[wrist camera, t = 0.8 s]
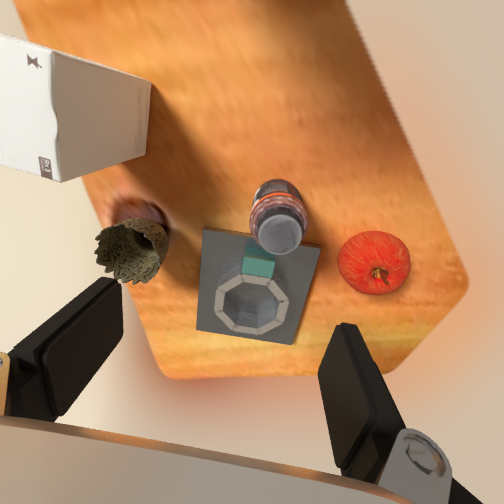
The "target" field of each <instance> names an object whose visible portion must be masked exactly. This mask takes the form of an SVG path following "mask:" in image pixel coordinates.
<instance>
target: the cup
mask: <svg viewBox="0 0 504 504" xmlns="http://www.w3.org/2000/svg"><path fill="white" fill-rule="evenodd" d="M95 240H97V241H98V240H100V241H99V243H98V245H99V247H98V248H97V250H96V251H95V252H94V253H95V254H97V255H98V256H97V259H96V263H97V264H99V265H103V266H106V268H105V273H110V272H112V271H114V279H116V280H118V279H121V281H122V283H127V282H129V281H131V280H133V282H132V284H133V285H135V284H137V283H138V282H139V281H141V282H142V283H147V282H148V281H149V280H151V278H152V277H155V276H156V274H157V272H158V270H159V268H160V266H161V264H162V262H163V260H164V258H165V256H166V254H167V250H168V237H167V234H166V232H165V229H164V227H163V226H162V225H161V224H160V223H158V222H156V221H153V220H151V219H148V218H132V219H128V220H125V221H123V222H120V223H118V224H115V225H113V226H111V227H107V228H105V229H103V230H102V231H101V232H100V235H98V236H97V237H96V238H95Z"/></svg>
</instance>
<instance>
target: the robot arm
mask: <svg viewBox="0 0 504 504" xmlns="http://www.w3.org/2000/svg"><path fill="white" fill-rule="evenodd" d="M122 336H123V310H122V287H121V284H119V283H118V281H117V280H116V279H113V278H107V277H101V278H99V279H98V280H96V282H94V283H93V284H92V285H91V286H89V287H88V288H87V289H85V290H84V291H83V292H82V293H80V294H79V295H78V296H77V297H75V298H74V299H73V300H72V301H70V302H69V303H68V304H67V305H65V306H64V307H63V308H62V309H60V310H59V311H58V312H57V313H55V314H54V315H53V316H52V317H51V318H49V319H48V320H47V321H46V322H44V323H43V324H42V325H41V326H39V327H38V328H37V329H36V330H35V331H33V332H32V333H31V334H29V335H28V336H27V337H26V338H24V339H23V340H22V341H21V342H20V343H18V344H17V345H16V346H14V347H13V348H14V349H12V350H11V351H10V352H9V353H8V354H6V353H3V352H0V504H483V503H482V502H481V501H479V500H478V499H477V498H476V497H475V496H474V495H472V494H471V493H470V492H469V491H468V490H467V489H465V488H464V487H463V486H462V485H461V484H460V483H458V482H457V481H456V480H455V479H454V478H453V477H452V468H451V466H450V463H449V460H448V459H447V457H446V455H445V454H444V452H443V451H442V450H441V449H440V447H439V446H438V445H437V444H436V443H435V442H434V441H433V440H431V438H429V437H428V436H426V435H425V434H423V433H422V432H420V431H417V430H415V429H409V428H406V426H405V424H404V422H403V420H402V417H401V415H400V413H399V411H398V409H397V407H396V405H395V403H394V400H393V398H392V397H391V394H390V392H389V390H388V388H387V386H386V383H385V381H384V379H383V377H382V375H381V373H380V371H379V369H378V366H377V365H376V363H375V362H374V361H373V359H372V357H371V355H370V353H369V350H368V348H367V346H366V344H365V342H364V340H363V337H362V335H361V333H360V331H359V329H358V327H357V325H354V324H349V323H341V324H340V325H337V326H336V327H335V330H334V332H333V335H332V337H331V340H330V342H329V344H328V347H327V349H326V352H325V354H324V357H323V359H322V362H321V364H320V367H319V370H318V380H319V384H320V390H321V395H322V400H323V405H324V410H325V415H326V420H327V425H328V430H329V435H330V440H331V445H332V449H333V455H334V460H335V464H336V466H337V467H338V468H340V469H341V474H342V476H339V475H334V474H329V473H325V472H320V471H314V470H310V469H306V468H301V467H295V466H290V465H285V464H279V463H274V462H269V461H264V460H258V459H253V458H248V457H243V456H238V455H232V454H227V453H221V452H216V451H210V450H205V449H200V448H194V447H189V446H184V445H178V444H173V443H167V442H162V441H156V440H151V439H145V438H140V437H135V436H129V435H123V434H118V433H111V432H106V431H101V430H95V429H90V428H84V427H78V426H73V425H66V424H60V423H54V421H55V420H56V419H57V418H58V417H59V416H63V415H64V414H65V413H66V412H67V411H68V409H69V408H70V407H71V405H72V404H73V403H74V401H75V400H76V399H77V397H78V396H79V395H80V393H81V392H82V391H83V389H84V388H85V387H86V385H87V384H88V383H89V382H90V380H91V379H92V377H93V376H94V375H95V374H96V372H97V371H98V370H99V368H100V367H101V366H102V364H103V363H104V362H105V360H106V359H107V358H108V356H109V355H110V353H111V352H112V351H113V349H114V348H115V347H116V346H117V344H118V343H119V342H120V340H121V338H122Z"/></svg>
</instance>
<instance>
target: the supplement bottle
mask: <svg viewBox="0 0 504 504" xmlns="http://www.w3.org/2000/svg"><path fill="white" fill-rule="evenodd" d="M308 227H309V218H308V213H307V210H306V208H305V206H304V203H303V201H302V199H301V196H300V194H299V192H298V190H297V189H296V188H295V186H294V185H293V184H291V183H290V182H288V181H286V180H283V179H272V180H269V181H267V182H265V183H263V184H262V185H261V186H260V187H259V188H258V190H257V192H256V194H255V196H254V200H253V205H252V210H251V215H250V230H251V234H252V236H253V238H254V239H255V240H256V242H257V243H258V244H259V245H260V246H262V247H263V248H264V249H265V250H266V251H267V252H269V253H271V254H274V255H285V254H288V253H290V252H292V251H294V250H295V249H296V248H297V247H298V246H299V244H300V242H301V241H302V240H303V239H304V237H305V236H306V234H307V231H308Z"/></svg>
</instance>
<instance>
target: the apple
mask: <svg viewBox="0 0 504 504" xmlns="http://www.w3.org/2000/svg"><path fill="white" fill-rule="evenodd" d="M410 267H411V263H410V255H409V251H408V249H407V247H406V246H405V244H404V243H403V242H402V241H401V240H400V239H399V238H397V237H395V236H393V235H391V234H389V233H385V232H381V231H367V232H362V233H360V234H357V235H355V236H353V237H352V238H350V239H349V240H348V241H347V242H346V243H345V244H344V245H343V247H342V248H341V250H340V252H339V254H338V268H339V271H340V273H341V275H342V277H343V278H344V280H345V281H346V282H347V283H348V284H349V285H350V286H351V287H352V288H354V289H355V290H357V291H359V292H361V293H365V294H371V295H381V294H386V293H389V292H393V291H395V290H397V289H398V288H399V287H400V286H401V285H402V284H403V282H404V281H405V279H406V278H407V276H408V274H409V272H410Z"/></svg>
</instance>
